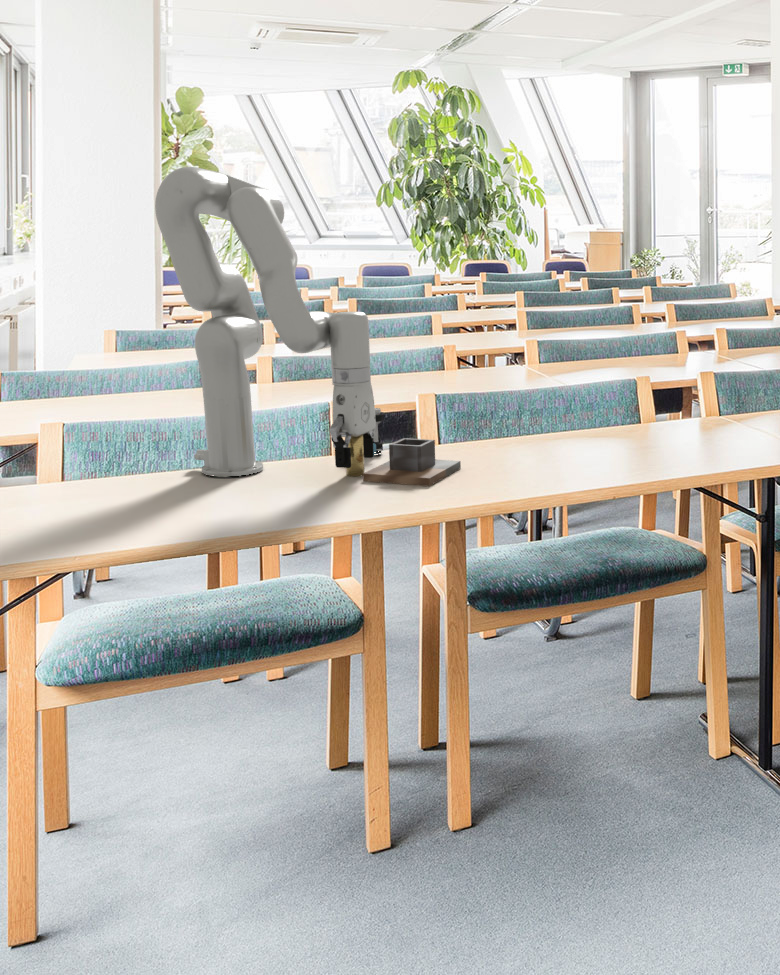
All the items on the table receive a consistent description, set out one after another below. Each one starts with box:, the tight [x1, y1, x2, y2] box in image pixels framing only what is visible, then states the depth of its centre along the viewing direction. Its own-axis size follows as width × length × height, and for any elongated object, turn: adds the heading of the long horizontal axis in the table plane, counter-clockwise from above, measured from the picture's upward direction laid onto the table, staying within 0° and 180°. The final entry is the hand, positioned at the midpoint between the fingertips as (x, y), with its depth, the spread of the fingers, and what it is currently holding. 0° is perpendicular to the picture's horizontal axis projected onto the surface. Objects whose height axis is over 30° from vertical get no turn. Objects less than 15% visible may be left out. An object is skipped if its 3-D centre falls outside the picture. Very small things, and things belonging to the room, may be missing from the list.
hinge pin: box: [345, 435, 365, 478], centre depth 185 cm, size 4×4×9 cm
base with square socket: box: [362, 437, 461, 487], centre depth 184 cm, size 14×16×6 cm
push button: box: [373, 407, 385, 456], centre depth 204 cm, size 7×5×10 cm
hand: (355, 462), depth 186 cm, fingers open, 9 cm apart
